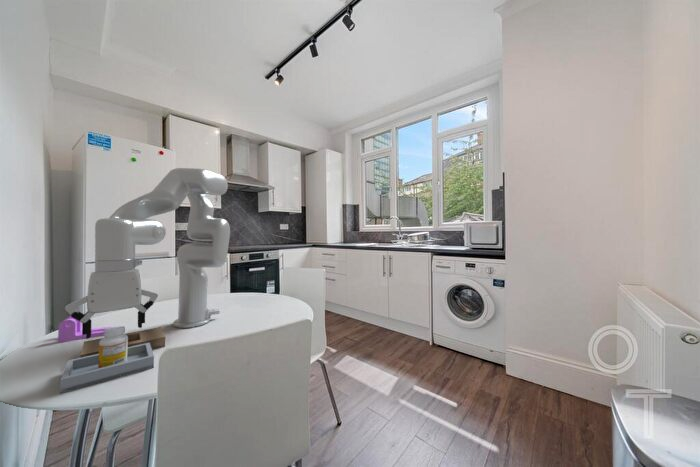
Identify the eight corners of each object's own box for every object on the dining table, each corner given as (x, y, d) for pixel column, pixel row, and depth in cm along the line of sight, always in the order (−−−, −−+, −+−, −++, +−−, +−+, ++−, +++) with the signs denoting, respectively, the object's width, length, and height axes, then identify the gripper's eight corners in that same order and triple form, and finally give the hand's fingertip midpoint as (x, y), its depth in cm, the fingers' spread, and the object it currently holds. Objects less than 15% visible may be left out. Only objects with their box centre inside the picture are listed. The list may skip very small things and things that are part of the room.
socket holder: (160, 335, 85) (160, 326, 85) (165, 346, 77) (165, 336, 77) (83, 351, 72) (84, 341, 72) (79, 366, 64) (80, 355, 64)
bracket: (57, 342, 78) (58, 320, 78) (65, 336, 83) (66, 315, 83) (113, 334, 85) (114, 314, 85) (117, 329, 90) (118, 310, 90)
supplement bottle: (105, 362, 65) (106, 326, 65) (130, 359, 67) (132, 323, 67) (93, 373, 60) (94, 333, 60) (121, 369, 62) (122, 331, 62)
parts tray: (149, 352, 72) (149, 342, 73) (153, 367, 65) (153, 356, 65) (67, 372, 61) (67, 360, 61) (60, 393, 53) (60, 379, 54)
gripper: (156, 261, 72) (155, 319, 73) (67, 267, 60) (67, 336, 61) (159, 265, 67) (159, 327, 67) (62, 271, 55) (62, 347, 55)
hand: (115, 331), depth 64 cm, fingers open, 9 cm apart
